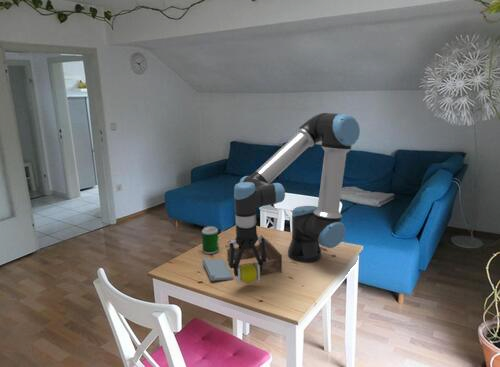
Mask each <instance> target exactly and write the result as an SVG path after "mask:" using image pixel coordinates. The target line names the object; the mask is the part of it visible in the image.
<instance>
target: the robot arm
mask: <svg viewBox="0 0 500 367" xmlns="http://www.w3.org/2000/svg"><path fill="white" fill-rule="evenodd" d="M360 130H361V129H360V125H359V122H358V121H357V119H356V118H355V117H354V116H352V115H350V114H346V113H330V112H329V113H328V112H323V113H318V114H316V115H315V116H312V117H311V118H310V119H308V120H306V121H305V122H304V123H303V124H302V125H300V127H298V128H297V129H296V133H295V134H294V135H293V136H292V137H291V138H290V139H289V140H287V142H286V143H285V144H283V146H281V148H279V149H278V150H277V151H276V152H275V153H274V154H273V155H272V156H270V158H268V159H267V160H266V161H265V162H264V163H263V164H262V165H261V166H260V167H259V168H258V169H256V170H255V171H254V172H253V173H252V174H251V175H245V176H243V177H241V178H240V180H239V182H238V183H236V184H235V185H234V189H233V190H234V191H233V199H234V212H235V214H234V215H235V235H236V236H235V240H232V241H231V240H229V241H228V247H229V248H230V249H229V248H228V249H229V261H228V267H229V269H233V274H234V276H235V277H236V282H237V284H238V286H239V285H242V280H241V278H240V268H239V265H240V263H241V260H242V259H241V257H242V254H243V252H244V250H245V249H251V248H252V251H253V253H254V255H255V257H254V258H255V259H256V262H255V261H254V262H255V266H256V269H257V278H256V280H257V282H259V281H261V275H260V272H261V271H262V265H263V262H266V261H267V260H268V259H267V257H266V253H265V246H264V242H265V239H266V238H265V237H264V236H263V235H260V236H258V232H257V212H256V211H257V208H260V207H266V206H271V205H276V204H279V203H282V202H283V201H284V200H285V197H286V191H285V187H284V186H283V184H281V183H279V182H273V181H274V180H275V179H276V178H277V177H278V176H279V175H280V174H282V172H284V171H285V170H286V169H287V168H289V166H290V165H291V164H292V163H293V162H294V161H295V160H297V158H299V156H301V155H302V153H304V152H305V151H306V150H307V149H308V148H309V147H310V148H312V147H314V145H316V144H317V143H319V142H321V146H320V147H321V148H322V150H323V151H324V156H323V161H322V170H321V179H320V188H319V193H318V194H319V195H318V204H317V206H314V205H303V206H302V205H301V206H300V205H299V206H296V207H294V208H293V209H292V214H291V219H292V220H291V241H290V243H289V246H288V249H287V256H288V258H289V259H292V260H293V261H296V262H300V263H312V262H313V263H314V262H316V261H319V260H320V259H321V257H322V249H321V246H322V247H325V248H327V249H332V248H335V247H337V246H339V245H340V243H342V242H343V240H344V239H345V237H346V232H347V229H346V226H345V225H344V223H342V218H343V216H342V214H341V212H340V203H341V196H342V190H343V181H344V174H345V169H346V168H345V167H346V159H347V153H349V152H350V151H351V150H352V146H353V145H354V144H356V143H357V141H358V139H359V138H360V134H361V133H360V132H361V131H360ZM257 242H258V244H259V246H260V252H261V256H259V254H258V252H257V250H256V247H255V245H256V243H257ZM236 245H238V246H237V247H238V251H237V254H236V257H235V260H234V248H236Z"/></svg>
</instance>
